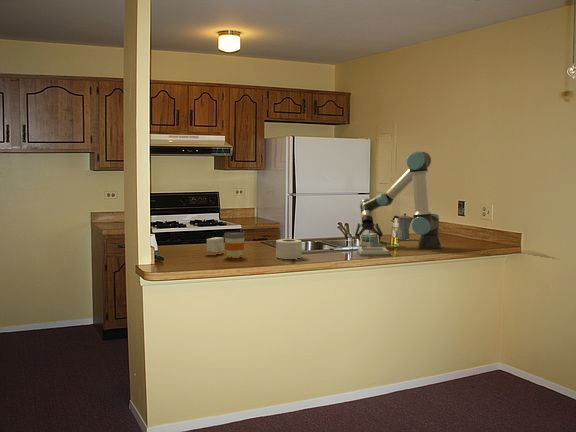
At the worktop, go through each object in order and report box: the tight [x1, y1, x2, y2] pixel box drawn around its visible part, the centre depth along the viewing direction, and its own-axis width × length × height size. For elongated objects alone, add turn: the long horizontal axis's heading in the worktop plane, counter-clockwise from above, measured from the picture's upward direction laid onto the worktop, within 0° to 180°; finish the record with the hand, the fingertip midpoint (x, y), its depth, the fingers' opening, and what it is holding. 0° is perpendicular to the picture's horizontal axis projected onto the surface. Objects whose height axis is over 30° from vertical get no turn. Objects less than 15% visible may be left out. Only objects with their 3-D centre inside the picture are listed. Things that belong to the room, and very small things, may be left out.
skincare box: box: [206, 236, 225, 252], centre depth 395 cm, size 10×6×10 cm, turn 152°
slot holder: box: [356, 246, 391, 257], centre depth 395 cm, size 19×19×3 cm
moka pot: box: [392, 212, 414, 241], centre depth 468 cm, size 10×15×20 cm, turn 78°
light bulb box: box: [361, 232, 378, 247], centre depth 414 cm, size 11×7×11 cm, turn 148°
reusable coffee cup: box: [223, 231, 246, 256], centre depth 381 cm, size 13×13×15 cm
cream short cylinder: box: [275, 238, 303, 260], centre depth 379 cm, size 16×15×11 cm
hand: (369, 244), depth 411 cm, fingers closed on light bulb box, 11 cm apart
